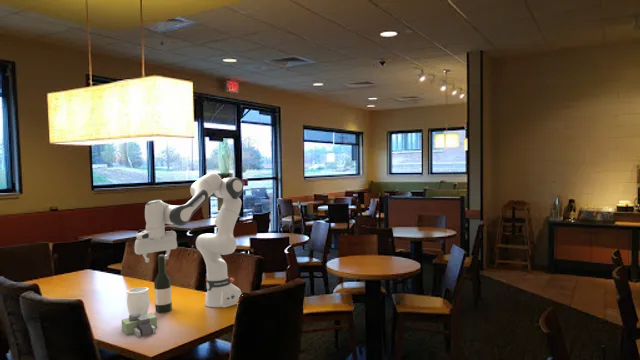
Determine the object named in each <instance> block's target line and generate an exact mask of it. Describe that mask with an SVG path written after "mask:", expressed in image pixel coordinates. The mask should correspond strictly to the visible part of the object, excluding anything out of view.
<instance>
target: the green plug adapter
mask: <svg viewBox="0 0 640 360" xmlns="http://www.w3.org/2000/svg"><path fill="white" fill-rule="evenodd" d="M143 316H147V317H149V318H150V323H151V331H152V334H156V328H158V318H157V316H156V315H155V314H153V313H152V312H150V313H149V312H148V313H147V314H144V315H140V314H139V313H135V314H131V315H130V314H129V315H128V318H123V319H121V330H122V332H123V333H125V335H126V336H128V335H132V334H134V335H135V336H136V337H137V338H141V337H142V335H141V333H140V330H138V317H143Z"/></svg>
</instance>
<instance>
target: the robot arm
mask: <svg viewBox="0 0 640 360" xmlns="http://www.w3.org/2000/svg"><path fill="white" fill-rule="evenodd" d="M243 190H244V184H243V182H242V179H241V178H238V177H234V176H233V177H231V176H230V177H226V178H225V177H224V178H223V179H222V177H221V175H219V174H218V173H216V172H209V173H207V174H205V175H203V176H202V177H200V178H198V179H197V180H195V182H193V183H192V184H191V186H190V189H189V191H190V196H191V197H192V198H191V199H189V200H188V201H187V202H186V203H185V204H181V205H172V204H168V203H166V202H164V201H162V199H154V200H149V201H147V203H146V204H145V206H144V207H145V208H144V219H145V220H144V221H145V223H146V224H145V229H144V230H142V231H141V232H138V233H136V234H135V236H136V237H135V238H136V239H135V241H134V253H135V254H136V255H138V256H139V255H142V256H143V258H144V261H145V263H147V264H148V263H150V258H149V257H147V255H148V254H151V253H152V254H153V253H156V252H157V253H158V252H164V251H166V254H165V255H164V254H163V255H164V257H165V260H169V255H170V253H171V250H176V249H177V248H178V241H177V233H176V231H174V230H170V231H169V230H168V231H166V229H165V224H167V225H175V226H179V227H182V226H186V225H187V224H188V223H189V222H190V220H191V218H192V217H193V215H194V214H195V213H196V212H197V211H198V210H199V209H200V208H202V206H203V205H204V204H205V203H206V201H208V200H209V199H208V198H210V197H211V196H213V198H216V199H222V204H221V206H220V209H219V211H218V214H217V216H216V217H215V219H214V220H215V221H214V224H215V226H216V227H217V232H216V233H202V234H200V235H198V236H197V238H196V240H195V247H196V249H197V250H198V252H200V254H201V255H202V258H203V260H204V263H205V266H206V267H205V269H206V290H207V291H206V299H205V304H204V305H205V307H208V308H228V307H230V306H235V305H238V304H237V302H238V299H239V297H240V295H241V294H242V291H241V289H240V288H239V287H237V286H236V285H234V284H233V282H234V281H235V279H234V278H233V277H229V276H228V264H227V262H226V261H225V260H224V259H223V258H222V256H223V255H224V256H225V255H230V254H233V253H234V252H235V250H236V249H237V240H236V238H235V236H234V229H235V225H236V223H237V221H238V219H239V215H240V213H241V208H242V204H243V202H242V200H241V196H242V194H243V193H242V192H243ZM221 255H222V256H221Z"/></svg>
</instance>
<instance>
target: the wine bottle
mask: <svg viewBox="0 0 640 360" xmlns="http://www.w3.org/2000/svg"><path fill="white" fill-rule="evenodd" d="M157 265H158V273H157V275H156V276H155V279H154V281H153V284H154V304H155V306H154V307H155V313H157V314H158V313H159V314H166V313H168V312H171V311H172V310H173V305H172V302H173V301H172V283H171V282H172V281H171V277H170V276H169V275H168V273H167V272H166V259H165V257H164V254H158V257H157Z"/></svg>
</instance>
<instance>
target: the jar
mask: <svg viewBox="0 0 640 360" xmlns="http://www.w3.org/2000/svg"><path fill="white" fill-rule="evenodd" d="M149 289H150V288H149V287H146V286H145V287H144V286H138V287H133V288H129V289H127V290H126V294H127V296H126V297H127V298H126V305H127V310H128V314H129V315H131V314H135V313H139V314H140V315H144V314H149V306H150V294H149V291H150V290H149Z"/></svg>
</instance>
